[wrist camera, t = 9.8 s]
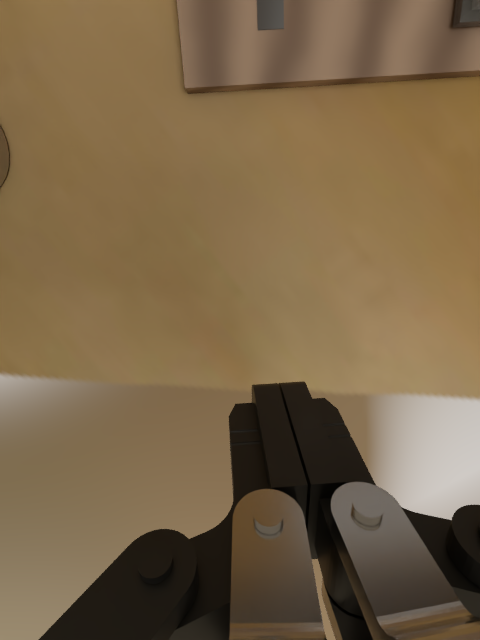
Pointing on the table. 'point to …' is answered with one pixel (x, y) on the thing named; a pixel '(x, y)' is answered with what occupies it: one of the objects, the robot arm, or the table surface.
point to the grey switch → (466, 13)
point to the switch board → (321, 43)
